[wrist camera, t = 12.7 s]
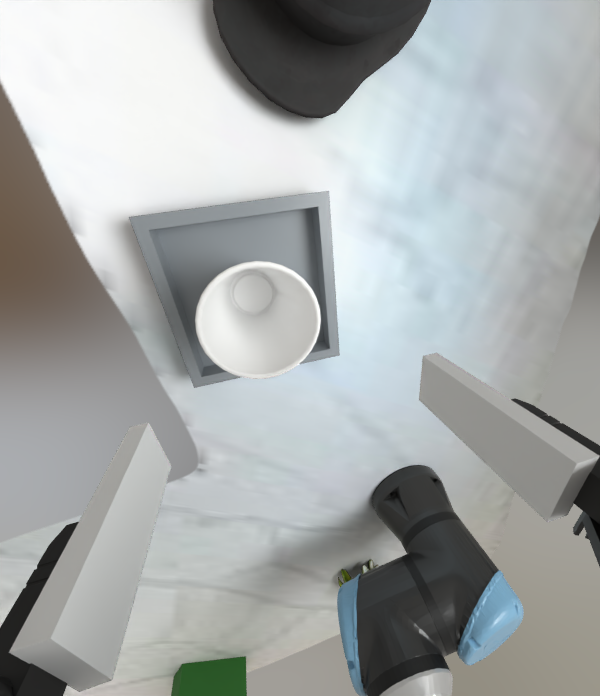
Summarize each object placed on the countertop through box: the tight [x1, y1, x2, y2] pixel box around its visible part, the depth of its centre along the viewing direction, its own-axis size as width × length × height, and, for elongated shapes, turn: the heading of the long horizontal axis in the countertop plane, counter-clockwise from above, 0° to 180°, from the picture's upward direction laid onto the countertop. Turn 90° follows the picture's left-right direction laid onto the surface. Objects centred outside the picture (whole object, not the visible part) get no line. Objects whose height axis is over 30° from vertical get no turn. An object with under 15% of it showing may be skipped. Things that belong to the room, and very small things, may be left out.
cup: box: [195, 261, 321, 379], centre depth 25 cm, size 10×10×11 cm
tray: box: [129, 191, 340, 388], centre depth 30 cm, size 18×18×4 cm
